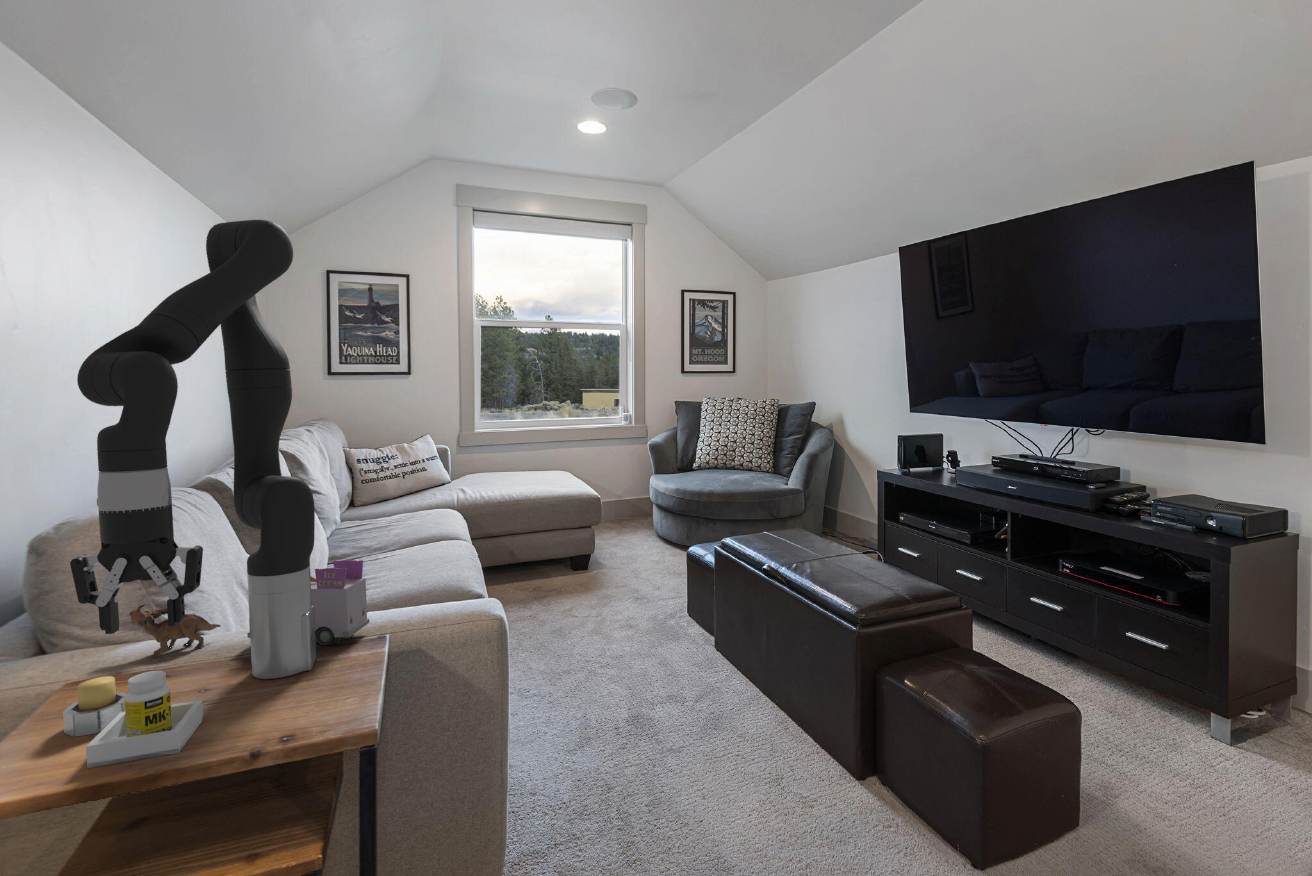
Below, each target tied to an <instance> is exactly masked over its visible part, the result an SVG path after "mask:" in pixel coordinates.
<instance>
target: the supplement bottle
mask: <svg viewBox="0 0 1312 876" xmlns="http://www.w3.org/2000/svg"><path fill="white" fill-rule="evenodd" d="M166 673H167V672H166V671H164V670H152V671H146V672H142V673H139V674H136V675H134V676H132V677H130V678H128V680H127V692H128V693H127V696H126V697H125V714H126V735H127V737H132V736H139V735H145V734H151V733H157V732H164V731H170V730H172V725H171V724H172V723H171V705H172V703H171V688H170V686H169V685H168V684H167V674H166Z"/></svg>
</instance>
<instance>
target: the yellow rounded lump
mask: <svg viewBox="0 0 1312 876" xmlns="http://www.w3.org/2000/svg"><path fill="white" fill-rule="evenodd" d="M116 688H117V687H116V678H115V677H114V676H109V675H108V676H100V677H96V678H91V679H88V680H86V681H83V682H81V683H80V684H78V685H77V701H78V703H79V709H82V710H88V709H95V708H99V707H103V706H106V705H108V704H110V703H112V702H114V701H115V700H116V692H117V689H116Z"/></svg>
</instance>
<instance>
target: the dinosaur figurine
mask: <svg viewBox="0 0 1312 876" xmlns="http://www.w3.org/2000/svg"><path fill="white" fill-rule="evenodd" d="M143 607H145V604H141V605H139V606H138V607H137V608H136V609H133V610H131V611H129V615H128V616H129V617H130V620H131V621H130V623H131V624H132V625H136V626H139V627H140V628H142V629H143V630H144V631H145V633H146V634H148V635H150V636H152V637H154V639H155V641H156V642H157V643H159V646H160V647H159V648H157V649H156V650H154V651H153V654H152V655H151V656H148V657H147V659H148V660H153V659H156V658H157V657H158V656H159V654H160V653H162V652H164V651H167V650H169V649H171V648H173V647H174V646H176V645H175V643H176V641H177V640H180V639H181V640H182V639H186V638H187V639H188V641H187V643H186V642H185V643H183V646H187V645H186V644H189V645H191V643H192V644H193V643H195V642H194V641H197V642H198V643H197V644H196V646H195V647H194V649H195V650H198V649H199V650H200V649H202V648H203V647H204V644H205V642H204V641H205V640H204V639H205V638H204V636H201V635H200V634H199V633H198V632H202V631H203V632H204V631H205V632H206V631H207V632H209V631H213V630H214V629H216V628H221V627H222V625H221V624H219V623H218V624H215V623H210V622H209V621H208V620H206V618H204V617H202V616H201V615H197V614H195V613H187V614H186V613H185V616H184V618H183V619H182V620H181V621H180V623H179V624H178V625H177V626H174V627H169V626H168V618H166V619H165V620H163V621H161V622H159V623H156V622H155V619H157V618H160V617H161V616H162V615H164V616H165V615H168V614H167V607H165V608H160V609H157V608H155V611H154V610H151V612H150V611H149V610H145V611H142V610H141V609H142V608H143ZM168 642H169V645H168ZM168 646H169V647H168ZM172 646H173V647H172ZM170 647H171V648H170ZM168 648H169V649H168Z"/></svg>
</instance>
